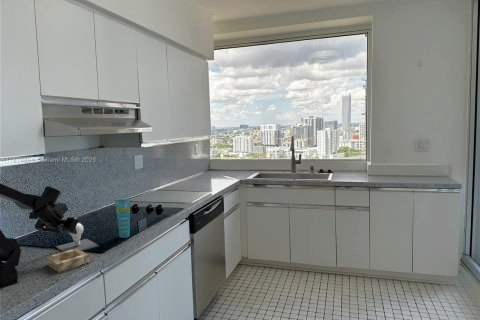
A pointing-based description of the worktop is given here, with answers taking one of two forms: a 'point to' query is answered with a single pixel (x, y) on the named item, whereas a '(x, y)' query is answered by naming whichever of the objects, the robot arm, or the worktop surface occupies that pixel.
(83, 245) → the mat
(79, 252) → the holder block
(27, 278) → the worktop surface
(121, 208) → the tube
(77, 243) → the lightbulb
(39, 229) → the robot arm
